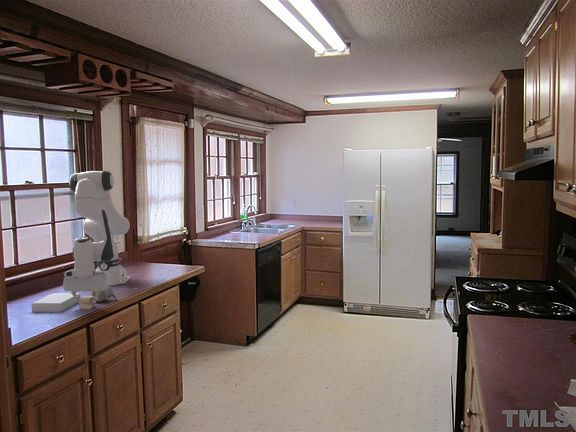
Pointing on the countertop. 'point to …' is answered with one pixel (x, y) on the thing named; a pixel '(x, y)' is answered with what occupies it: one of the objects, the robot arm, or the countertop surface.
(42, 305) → the grey platform
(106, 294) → the ceramic mug
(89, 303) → the birch cube
